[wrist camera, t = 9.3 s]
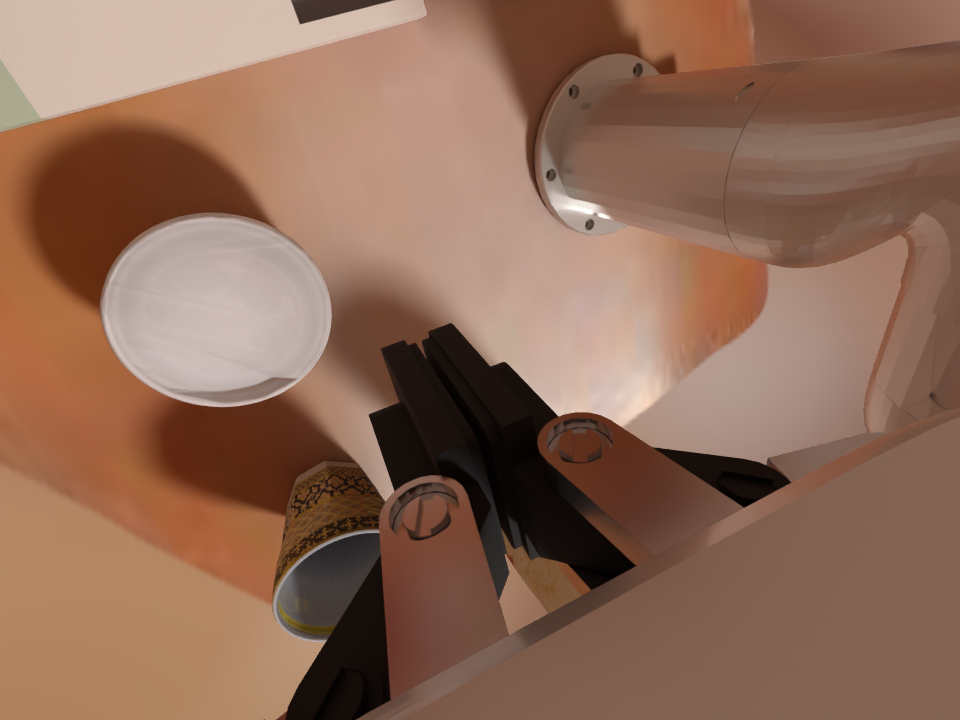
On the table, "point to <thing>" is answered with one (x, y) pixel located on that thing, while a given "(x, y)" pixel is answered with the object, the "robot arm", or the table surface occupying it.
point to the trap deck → (158, 44)
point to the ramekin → (216, 309)
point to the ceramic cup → (325, 548)
